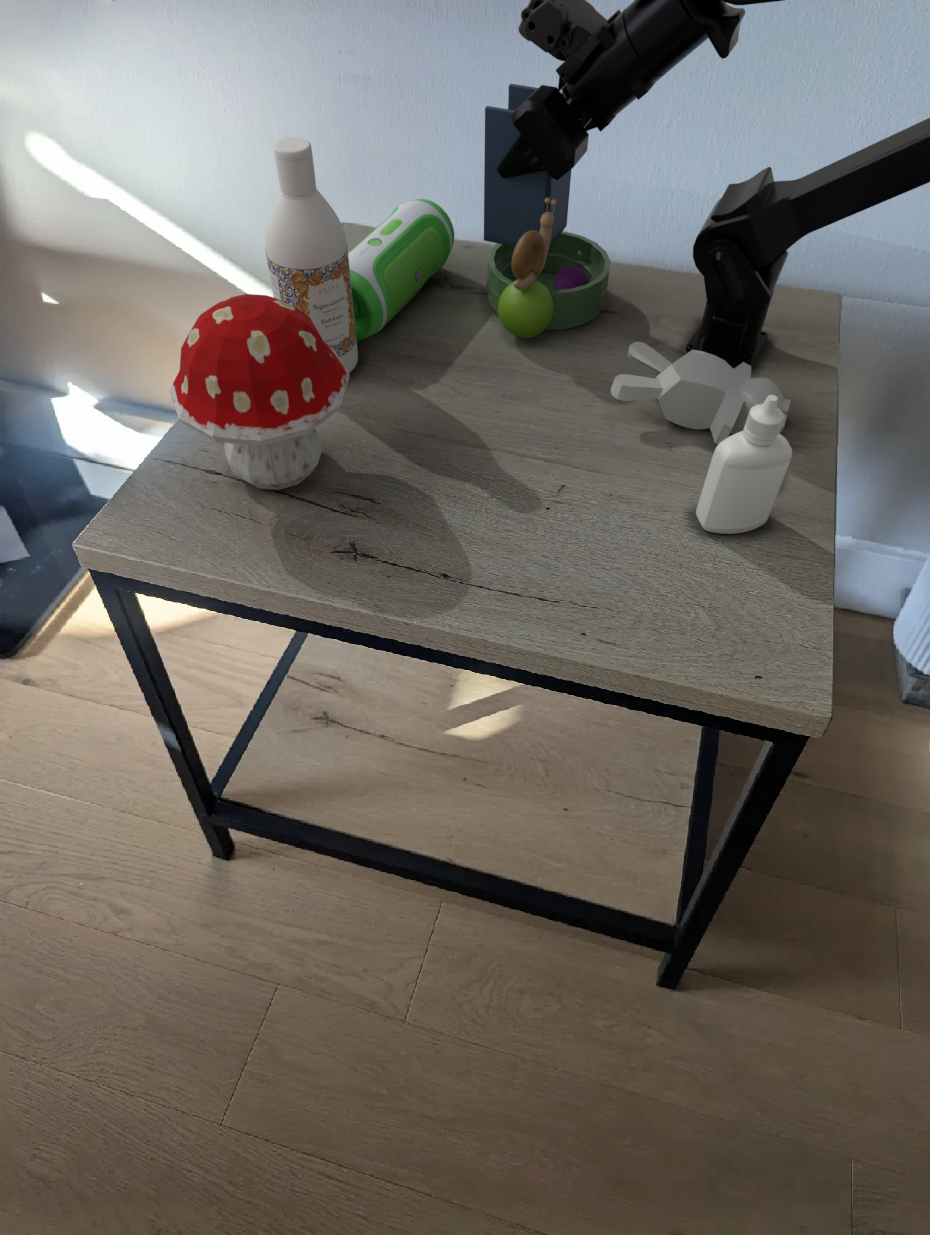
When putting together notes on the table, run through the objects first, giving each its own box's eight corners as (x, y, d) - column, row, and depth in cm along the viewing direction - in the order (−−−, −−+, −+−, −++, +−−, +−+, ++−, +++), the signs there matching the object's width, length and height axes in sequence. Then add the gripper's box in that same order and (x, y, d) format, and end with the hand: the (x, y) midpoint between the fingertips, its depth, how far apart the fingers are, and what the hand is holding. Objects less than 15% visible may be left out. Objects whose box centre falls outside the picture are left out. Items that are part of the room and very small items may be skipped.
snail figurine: (565, 323, 87) (579, 205, 78) (534, 355, 84) (544, 235, 75) (519, 307, 89) (526, 189, 80) (486, 337, 86) (490, 218, 76)
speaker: (379, 355, 84) (374, 284, 78) (315, 336, 86) (305, 265, 80) (458, 270, 94) (459, 201, 88) (399, 254, 96) (396, 186, 90)
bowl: (519, 259, 96) (521, 219, 92) (622, 288, 92) (628, 248, 88) (466, 313, 89) (466, 272, 85) (575, 347, 85) (580, 305, 82)
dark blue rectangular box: (566, 226, 87) (578, 94, 77) (545, 254, 83) (554, 119, 74) (506, 213, 88) (510, 83, 79) (483, 240, 85) (484, 107, 76)
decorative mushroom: (247, 399, 80) (211, 242, 68) (385, 435, 76) (373, 277, 65) (161, 496, 71) (104, 337, 60) (312, 542, 68) (283, 382, 57)
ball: (595, 267, 88) (568, 252, 86) (597, 296, 87) (569, 282, 85) (572, 287, 91) (545, 273, 89) (573, 316, 90) (546, 302, 88)
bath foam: (306, 394, 80) (270, 172, 65) (273, 357, 84) (232, 138, 68) (371, 370, 83) (352, 150, 67) (337, 334, 86) (311, 118, 71)
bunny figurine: (787, 431, 71) (614, 372, 73) (762, 476, 75) (599, 419, 77) (802, 367, 77) (641, 314, 78) (779, 412, 81) (626, 361, 83)
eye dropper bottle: (762, 546, 68) (810, 425, 59) (691, 529, 69) (727, 407, 60) (768, 510, 71) (815, 388, 62) (700, 494, 72) (736, 372, 63)
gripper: (623, -84, 72) (497, 48, 83) (543, -20, 61) (411, 121, 73) (696, 39, 76) (567, 148, 88) (634, 119, 65) (495, 232, 77)
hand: (513, 159), depth 81 cm, fingers closed on dark blue rectangular box, 6 cm apart
